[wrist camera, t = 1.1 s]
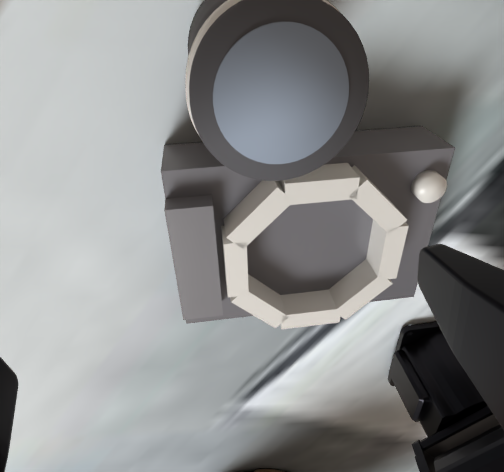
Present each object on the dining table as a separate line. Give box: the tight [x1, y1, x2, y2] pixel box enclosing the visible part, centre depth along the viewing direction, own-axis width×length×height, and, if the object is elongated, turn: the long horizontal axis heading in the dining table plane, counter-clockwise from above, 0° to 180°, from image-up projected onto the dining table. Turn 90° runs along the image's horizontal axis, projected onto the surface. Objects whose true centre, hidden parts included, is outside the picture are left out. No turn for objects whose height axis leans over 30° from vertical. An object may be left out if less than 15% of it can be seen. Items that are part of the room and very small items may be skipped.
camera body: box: [161, 126, 455, 329], centre depth 20 cm, size 13×9×4 cm
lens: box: [185, 0, 369, 181], centre depth 14 cm, size 5×5×8 cm
